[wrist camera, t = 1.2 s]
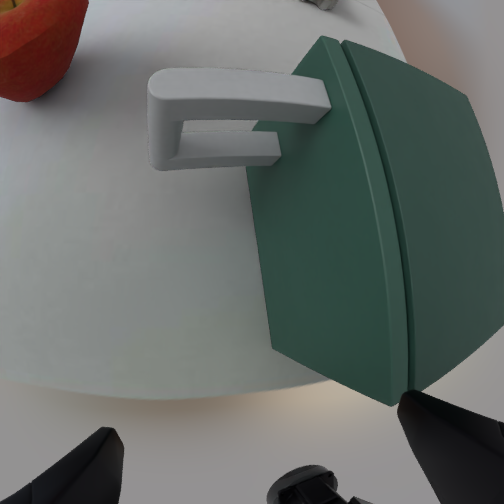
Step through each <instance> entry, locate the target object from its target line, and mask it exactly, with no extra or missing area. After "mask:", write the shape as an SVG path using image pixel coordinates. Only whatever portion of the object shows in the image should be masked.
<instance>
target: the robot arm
mask: <svg viewBox="0 0 504 504" xmlns="http://www.w3.org/2000/svg"><path fill="white" fill-rule="evenodd" d="M397 415H398V418H399V420H400V423H401V425H402V427H403V430H404V432H405V435H406V437H407V440H408V442H409V445H410V447H411V449H412V451H413V453H414V455H415V457H416V459H417V461H418V462H419V464H420V466H421V468H422V470H423V471H424V473H425V475H426V477H427V479H428V481H429V482H430V484H431V486H432V488H433V490H434V492H435V494H436V496H437V497H438V499H439V501H440V503H441V504H504V423H503V422H500V421H499V422H498V421H497V420H494V419H491V418H488V417H485V416H482V415H480V414H477V413H474V412H471V411H469V410H466V409H463V408H461V407H458V406H455V405H453V404H450V403H448V402H445V401H443V400H440V399H437V398H435V397H432V396H430V395H428V394H425V393H422V392H420V391H418V390H415V389H412V390H409V391H406V392H404V393H403V394H402V395H401V399H400V402H399V406H398V409H397ZM123 457H124V446H123V443H122V441H121V439H120V437H119V436H118V434H117V432H116V430H115V429H114V428H110V427H101V428H99V429H98V430H97V431H96V432H95V433H93V434H92V435H91V436H89V437H88V438H87V439H86V440H84V441H83V442H82V443H81V444H80V445H78V446H77V447H76V448H75V449H73V450H72V451H71V452H69V453H68V454H67V455H66V456H64V457H63V458H62V459H60V460H59V461H58V462H56V463H55V464H54V465H53V466H51V467H50V468H49V469H47V470H46V471H45V472H43V473H42V474H41V475H39V476H38V477H37V478H36V479H34V480H33V481H32V482H31V483H29V484H27V485H26V486H24V487H23V488H22V489H20V490H19V491H17V492H16V493H15V494H13V495H11V496H9V497H8V498H6V499H4V500H2V501H1V502H0V504H118V503H119V497H120V492H121V484H122V470H123ZM277 497H278V503H279V504H372V503H370V502H367V501H365V500H362V499H359V498H357V497H355V496H353V498H351V499H350V501H349V502H347V501H345V500H344V499H343V498H342V497H341V496H340V495H339V494H338V493H337V492H336V491H335V490H334V473H333V472H332V471H327V472H325V473H323V474H320V475H318V476H316V477H313V478H311V479H308V480H306V481H303V482H301V483H298V484H295V485H293V486H290V487H287V488H284V489H281V490H279V491H278V492H277Z"/></svg>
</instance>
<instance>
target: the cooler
mask: <svg viewBox="0 0 504 504" xmlns="http://www.w3.org/2000/svg"><path fill="white" fill-rule="evenodd" d="M340 45H341V47H342V50H343V52H344V54H345V56H346V59H347V61H348V64H349V66H350V68H351V71H352V73H353V76H354V78H355V81H356V83H357V86H358V89H359V91H360V94H361V97H362V100H363V103H364V105H365V108H366V111H367V114H368V117H369V120H370V123H371V127H372V130H373V133H374V136H375V140H376V143H377V147H378V150H379V154H380V157H381V161H382V165H383V169H384V173H385V177H386V181H387V185H388V190H389V194H390V199H391V204H392V208H393V213H394V219H395V224H396V230H397V236H398V242H399V249H400V255H401V263H402V271H403V280H404V289H405V300H406V314H407V333H408V391H409V390H412V389H415V390H418V391H420V392H421V391H423V390H424V389H426V388H427V387H428V386H430V385H431V384H433V383H434V382H436V381H437V380H439V379H440V378H441V377H443V376H444V375H445V374H447V373H448V372H449V371H451V370H452V369H453V368H455V367H456V366H457V365H458V364H460V363H461V362H462V361H464V360H465V359H466V358H467V357H468V356H470V355H471V354H472V353H473V352H474V351H476V350H477V349H478V348H479V347H480V346H482V345H483V344H484V343H485V342H486V341H487V340H488V339H489V338H490V337H491V336H493V335H494V334H495V333H496V332H497V331H498V330H499V329H500V328H501V327H502V326H503V325H504V212H503V207H502V202H501V198H500V193H499V189H498V185H497V181H496V177H495V173H494V169H493V166H492V162H491V159H490V156H489V153H488V150H487V146H486V143H485V141H484V138H483V135H482V132H481V129H480V127H479V124H478V122H477V119H476V117H475V114H474V111H473V109H472V107H471V104H470V102H469V100H468V98H467V96H466V95H464V94H463V93H461V92H460V91H458V90H456V89H454V88H453V87H451V86H449V85H448V84H446V83H444V82H442V81H441V80H439V79H437V78H435V77H433V76H431V75H429V74H427V73H425V72H423V71H421V70H419V69H417V68H415V67H413V66H411V65H409V64H407V63H405V62H402V61H400V60H398V59H396V58H393V57H391V56H388V55H386V54H384V53H381V52H379V51H376V50H373V49H371V48H368V47H365V46H362V45H360V44H357V43H354V42H351V41H348V40H344V41H343V42H342V43H341V44H340Z"/></svg>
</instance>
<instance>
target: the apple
mask: <svg viewBox="0 0 504 504" xmlns="http://www.w3.org/2000/svg"><path fill="white" fill-rule="evenodd" d="M88 4H89V1H88V0H0V97H3V98H6V99H9V100H12V101H15V102H29V101H31V100H33V99H35V98H38V97H40V96H41V95H43V94H44V93H45V92H47V91H48V90H49V89H51V88H52V87H53V86H54V85H55V84H56V83H57V82H59V81H60V80H61V79H62V78H63V76H64V75H65V73H66V72H67V70H68V69H69V67H70V64H71V61H72V59H73V56H74V53H75V51H76V48H77V45H78V42H79V38H80V33H81V29H82V26H83V22H84V18H85V14H86V11H87V8H88Z"/></svg>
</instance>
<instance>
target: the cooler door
mask: <svg viewBox="0 0 504 504" xmlns="http://www.w3.org/2000/svg"><path fill="white" fill-rule="evenodd" d="M184 120H259V121H258V122H257V124H256V125H255V127H254V128H253V130H252V131H205V132H182V127H183V122H184ZM147 122H148V152H149V162H150V165H151V166H152V167H153V168H154V169H156V170H159V171H168V170H181V169H195V168H212V167H235V166H246V171H247V178H248V184H249V191H250V198H251V204H252V211H253V218H254V224H255V231H256V238H257V245H258V252H259V258H260V265H261V272H262V279H263V286H264V293H265V300H266V307H267V314H268V321H269V328H270V335H271V342H272V348H273V349H275V350H276V351H278V352H280V353H282V354H284V355H286V356H287V357H289V358H291V359H293V360H295V361H297V362H299V363H301V364H302V365H304V366H306V367H308V368H310V369H312V370H314V371H316V372H318V373H320V374H322V375H324V376H326V377H328V378H330V379H332V380H334V381H336V382H338V383H340V384H342V385H345V386H347V387H349V388H351V389H353V390H355V391H357V392H359V393H361V394H363V395H366V396H368V397H370V398H372V399H374V400H377V401H379V402H381V403H383V404H386V405H388V406H391V407H392V406H394V405H396V404H397V403H399V402H400V399H401V395H402V394H403V393H404V392H406V391H408V333H407V314H406V300H405V289H404V280H403V271H402V263H401V255H400V249H399V242H398V236H397V230H396V224H395V219H394V213H393V208H392V204H391V199H390V194H389V190H388V185H387V181H386V177H385V173H384V169H383V165H382V161H381V157H380V154H379V150H378V147H377V143H376V140H375V136H374V133H373V130H372V127H371V123H370V120H369V117H368V114H367V111H366V108H365V105H364V103H363V100H362V97H361V94H360V91H359V89H358V86H357V83H356V81H355V78H354V76H353V73H352V71H351V68H350V66H349V64H348V61H347V59H346V56H345V54H344V52H343V50H342V47H341V45H340V43H339V41H338V40H336V39H333V38H330V37H326V36H320V37H319V39H318V40H317V41H316V42H315V44H314V45H313V46H312V48H311V49H310V50H309V51H308V53H307V54H306V55H305V57H304V58H303V59H302V61H301V62H300V63H299V65H298V66H297V67H296V69H295V70H294V71H293V73H292V74H291V75H290V74H283V73H275V72H266V71H257V70H245V69H230V68H165V69H161V70H159V71H157V72H155V73H154V74H153V75H152V76H151V77H150V79H149V81H148V85H147Z"/></svg>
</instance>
